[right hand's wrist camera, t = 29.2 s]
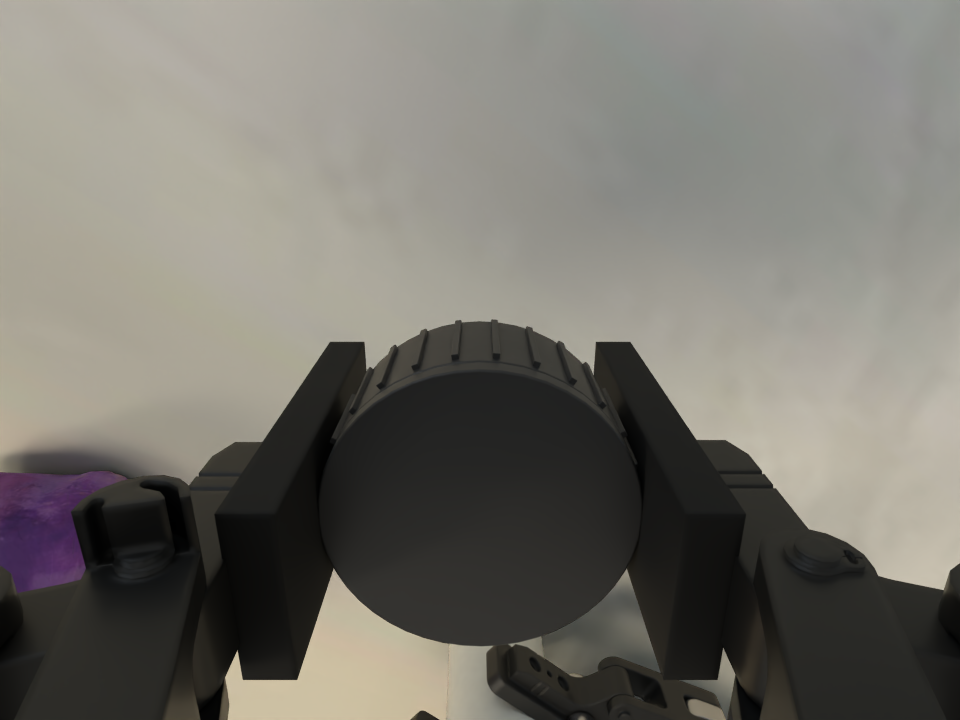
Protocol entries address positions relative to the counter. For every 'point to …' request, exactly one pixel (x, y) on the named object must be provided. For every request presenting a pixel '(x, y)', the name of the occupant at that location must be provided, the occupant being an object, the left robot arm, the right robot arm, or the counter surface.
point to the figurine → (44, 525)
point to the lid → (480, 487)
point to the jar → (478, 685)
